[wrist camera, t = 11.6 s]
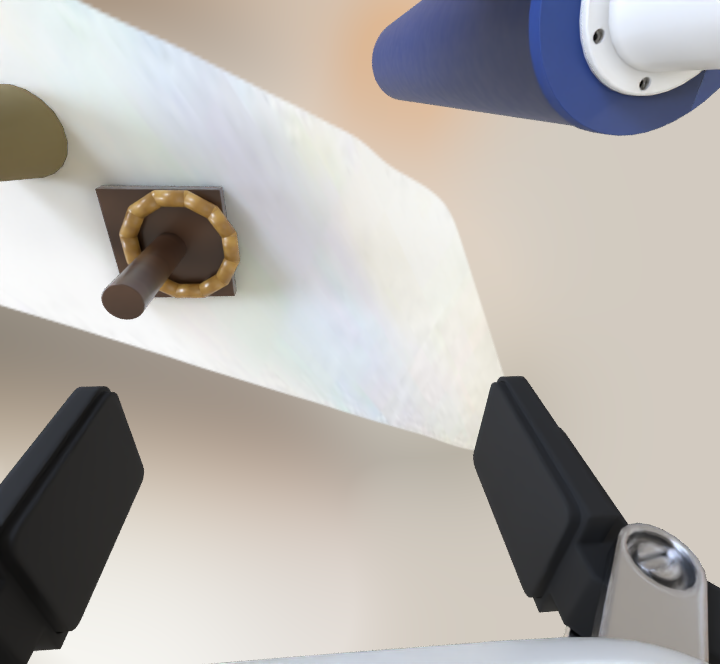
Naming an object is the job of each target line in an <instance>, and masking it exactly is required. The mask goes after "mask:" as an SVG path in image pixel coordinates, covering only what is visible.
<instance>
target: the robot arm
mask: <svg viewBox="0 0 720 664" xmlns="http://www.w3.org/2000/svg"><path fill="white" fill-rule="evenodd" d="M579 23H580V40H581V44H582V48H583V53H584V57H585V59H586V61H587V63H588V65H589V67H590V70H591V71H592V73H593V74H594V75H595V76H596V78H597V79H598V80H599V81H600V82H601V83H602V84H604V85H605V86H606V87H608V88H609V89H610V90H613V91H615V92H618V93H621V94H624V95H634V96H645V95H655V94H659V93H663V92H667V91H669V90H671V89H673V88H676V87H678V86H680V85H682V84H684V83H685V82H687V81H688V80H690V79H691V78H693V77H694V76H696V75H697V74H699V73H700V72H701V71H702V70H714V69H720V0H581V9H580V19H579ZM593 35H594V40H593ZM473 460H474V465H475V469H476V471H477V474H478V477H479V479H480V481H481V484H482V487H483V489H484V492H485V494H486V497H487V499H488V502H489V504H490V507H491V509H492V512H493V514H494V517H495V519H496V522H497V524H498V527H499V530H500V532H501V534H502V537H503V540H504V542H505V545H506V547H507V550H508V552H509V555H510V557H511V560H512V562H513V565H514V567H515V570H516V572H517V575H518V578H519V580H520V583H521V585H522V588H523V590H524V592H525V593H526V595H527V596H528V597H533V598H534V601H535V603H536V606H537V608H538V611H539V612H550V611H559V614H560V616H561V618H562V620H563V622H564V624H565V625H566V629H565V634H564V637H560V638H544V639H526V640H507V641H491V642H477V643H465V644H451V645H438V646H425V647H412V648H400V649H385V650H372V651H360V652H349V653H336V654H323V655H311V656H300V657H286V658H274V659H262V660H250V661H237V662H226V663H214V664H720V588H719V587H717V586H715V585H714V584H712V583H710V582H708V581H707V579H706V574H705V570H704V569H703V567H702V565H701V563H700V561H699V560H698V558H697V557H696V556H695V555H694V553H693V552H692V551H691V550H690V549H689V548H688V547H687V546H686V545H685V544H684V543H682V542H681V541H680V540H679V539H677V538H676V537H675V536H673V535H671V534H669V533H668V532H666V531H664V530H663V529H660V528H657V527H655V526H652V525H648V524H642V523H635V524H627V522H626V521H625V519H624V518H623V516H622V515H621V513H620V512H619V510H618V509H617V507H616V506H615V505H614V503H613V502H612V500H611V499H610V497H609V496H608V495H607V493H606V492H605V490H604V489H603V487H602V486H601V484H600V483H599V481H598V480H597V478H596V477H595V476H594V474H593V473H592V471H591V470H590V468H589V467H588V465H587V464H586V462H585V461H584V460H583V458H582V457H581V455H580V454H579V452H578V451H577V449H576V448H575V447H574V445H573V444H572V442H571V441H570V439H569V438H568V436H567V435H566V433H565V432H564V431H563V430H562V429H561V428H559V427H558V425H557V424H556V422H555V421H554V419H553V418H552V416H551V415H550V414H549V412H548V411H547V409H546V408H545V406H544V405H543V403H542V402H541V400H540V399H539V397H538V396H537V394H536V393H535V392H534V390H533V389H532V387H531V386H530V384H529V383H528V381H527V380H526V379H525V378H524V377H522V376H510V377H500V378H499V379H498V381H497V382H494V383H492V385H491V387H490V391H489V395H488V399H487V403H486V407H485V411H484V415H483V419H482V422H481V426H480V430H479V434H478V438H477V442H476V446H475V450H474V454H473ZM143 476H144V468H143V464H142V462H141V459H140V456H139V453H138V451H137V448H136V445H135V442H134V440H133V437H132V434H131V431H130V428H129V426H128V423H127V420H126V418H125V414H124V412H123V409H122V406H121V403H120V401H119V398H118V396H117V394H116V393H115V392H111V391H110V390H109V388H107V387H105V386H97V387H79V388H77V389H76V390H75V391H74V392H73V393H72V394H71V396H70V397H69V398H68V399H67V401H66V402H65V403H64V404H63V406H62V407H61V408H60V409H59V411H58V412H57V413H56V415H55V416H54V417H53V418H52V420H51V421H50V422H49V423H48V424H47V426H46V427H45V428H44V430H43V431H42V432H41V433H40V435H39V436H38V437H37V438H36V440H35V441H34V442H33V443H32V445H31V446H30V447H29V449H28V450H27V451H26V452H25V454H24V455H23V456H22V457H21V459H20V460H19V461H18V462H17V464H16V465H15V466H14V467H13V469H12V470H11V471H10V472H9V474H8V475H7V476H6V478H5V479H4V480H3V481H2V483H1V484H0V664H27V663H28V661H29V659H30V657H31V655H32V653H33V651H38V650H52V649H61V647H62V645H63V642H64V640H65V638H66V636H67V634H68V631H72V630H74V629H75V628H76V627H77V625H78V624H79V622H80V620H81V618H82V616H83V614H84V612H85V609H86V607H87V605H88V603H89V600H90V598H91V596H92V593H93V591H94V589H95V587H96V584H97V582H98V580H99V578H100V576H101V573H102V571H103V569H104V566H105V564H106V562H107V560H108V557H109V555H110V553H111V551H112V548H113V546H114V544H115V542H116V539H117V537H118V535H119V533H120V530H121V528H122V526H123V524H124V521H125V519H126V517H127V515H128V512H129V510H130V508H131V505H132V503H133V501H134V499H135V497H136V494H137V492H138V490H139V488H140V485H141V483H142V480H143Z"/></svg>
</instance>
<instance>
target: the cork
mask: <svg viewBox="0 0 720 664" xmlns="http://www.w3.org/2000/svg"><path fill="white" fill-rule="evenodd" d="M66 156H67V139H66V136H65V132H64V129H63V126H62V125H61V123H60V122H59V120H58V118H57V117H56V115H55V113H54V112H53V111H52V110H51V109H50V108H49V107H48V106H47V105H46V104H45V103H44V102H43V101H42V100H41V99H40V98H38V97H36V96H35V95H33V94H32V93H30V92H29V91H27V90H25V89H22V88H19V87H16V86H13V85H10V84H0V181H11V180H22V179H32V178H43V177H46V176H49V175H52V174H54V173H55V172H56V171H58V170H59V169H60V168H61V167H62V166H63V164H64V161H65V159H66Z"/></svg>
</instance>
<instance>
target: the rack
mask: <svg viewBox="0 0 720 664" xmlns="http://www.w3.org/2000/svg"><path fill="white" fill-rule="evenodd" d="M95 190H96V193H97V197H98V200H99V204H100V207H101V211H102V214H103V217H104V221H105V224H106V228H107V231H108V235H109V238H110V242H111V245H112V249H113V252H114V256H115V259H116V263H117V266H118V269H119V273H120V274H119V275H118V276H117V277H116V278H115V279H114V280H113V281H112V282H111V283H110V284H109V285H108V286H107V287H106V288H105V289H104V291H103V293H102V297H101V298H102V303H103V306H104V307H105V309H106V310H107V311H108V312H109V313H110V314H112V315H113V316H115V317H117V318H120V319H134V318H137V317H139V316H140V315H141V314H142V313H143V311H144V310H145V309H146V307H147V306H148V305H149V303H150V302H151V301H152V299H153V298H154V297H173V296H170V295H168V294H166V293H163V292H161V291H159V290H160V288H161V287H162V286H163V284H164V283H165V281H166V280H167V279H170V280H172V281H174V282H176V283H179V284H200V283H202V282H204V281H206V280H207V279H209V278H211V277H212V276H214V275H216V274H217V272H218V270H219V268H220V266H221V264H222V262H223V260H224V251H223V244H222V237H221V236H220V235H219V233H218V232H217V231H216V229H215V228H214V227H213V225H212V224H211V223H210V221H209V220H208V219H207V218H205V217H203V216H201V215H200V214H198V213H196V212H194V211H192V210H190V209H188V208H186V207H160V208H159V209H157V210H156V211H154V212H153V213H151V214H149V215H148V216H146V217H145V218H144V220H143V222H142V225H141V228H140V230H139V233H138V236H137V237H138V241H139V245H140V249H141V253H140V254H139V255H138V256H137V257H136V258H135V259H134V260H133V261H132V262H131V263H130V264H129V265H128V263H127V261H126V258H125V254H124V251H123V247H122V243H121V240H120V236H119V232H120V229H121V226H122V224H123V221H124V218H125V215H126V212H127V209H128V207H129V206H130V205H131V204H133V203H135V202H136V201H138V200H139V199H141V198H142V197H144V196H145V195H147V194H149V193H150V192H152V191H154V190H187V191H190V192H192V193H194V194H195V195H197V196H199V197H201V198H203V199H205V200H207V201H209V202H211V203H212V204H214V205H216V206H218V207H219V209H220V210H221V212H222V213H223V214H224V216H225V217H226V218H227V216H226V208H225V201H224V193H223V187H196V186H100V187H98V188H96V189H95ZM235 293H236V283H235V275H234V274H233V276H232V278H231V280H230V282H229V284H228V285H226V286H225V287H223V288H221V289H219V290H218V291H216V292H214V293H212V294H211V295H209V296H235Z"/></svg>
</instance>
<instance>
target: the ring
mask: <svg viewBox="0 0 720 664" xmlns="http://www.w3.org/2000/svg"><path fill="white" fill-rule="evenodd" d="M160 207H186V208H188V209H190V210H192V211H194V212H196V213H198V214H200V215H201V216H203V217H205V218H207V219H208V220H209V221H210V223H211V224H212V225H213V227H214V228H215V229H216V231H217V232H218V233H219V235H220V236H221V237H222V244H223V251H224V260H223V262H222V264H221V266H220V268H219V270H218V272H217V274H216V275H214V276H212V277H211V278H209V279H207V280H206V281H204V282H202V283H200V284H179V283H176V282H174V281H172V280H170V279H167V280H166V281H165V283H164V284H163V286H162V287H161V288H160V290H159V291H161V292H163V293H166V294H168V295H170V296H173V297H175V298H205V297H207V296H209V295H211V294H212V293H214V292H216V291H218V290H219V289H221V288H223V287H225V286H226V285H228V284H229V282H230V280H231V278H232V276H233V274H234V272H235V270H236V268H237V266H238V264H239V262H240V255H239V247H238V239H237V233H236V231H235V229H234V228H233V227H232V225H231V224H230V222H229V221H228V220H227V218H226V217H225V216H224V214H223V213H222V212H221V210H220V209H219V207H218V206H216V205H214V204H212V203H211V202H209V201H207V200H205V199H203V198H201V197H199V196H197V195H195V194H194V193H192V192H190V191H187V190H154V191H152V192H150V193H149V194H147V195H145V196H144V197H142V198H141V199H139V200H138V201H136V202H135V203H133V204H131V205H130V206H129V207H128V209H127V212H126V215H125V218H124V221H123V224H122V226H121V229H120V232H119V236H120V240H121V243H122V247H123V251H124V254H125V258H126V261H127V263H128V265H129V264H130V263H131V262H132V261H133V260H134V259H135V258H136V257H137V256H138V255H139V254H140V253H141V249H140V245H139V241H138V237H137V236H138V233H139V230H140V228H141V225H142V222H143V220H144V218H145V217H146V216H148V215H149V214H151V213H153V212H154V211H156V210H157V209H159V208H160Z"/></svg>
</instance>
